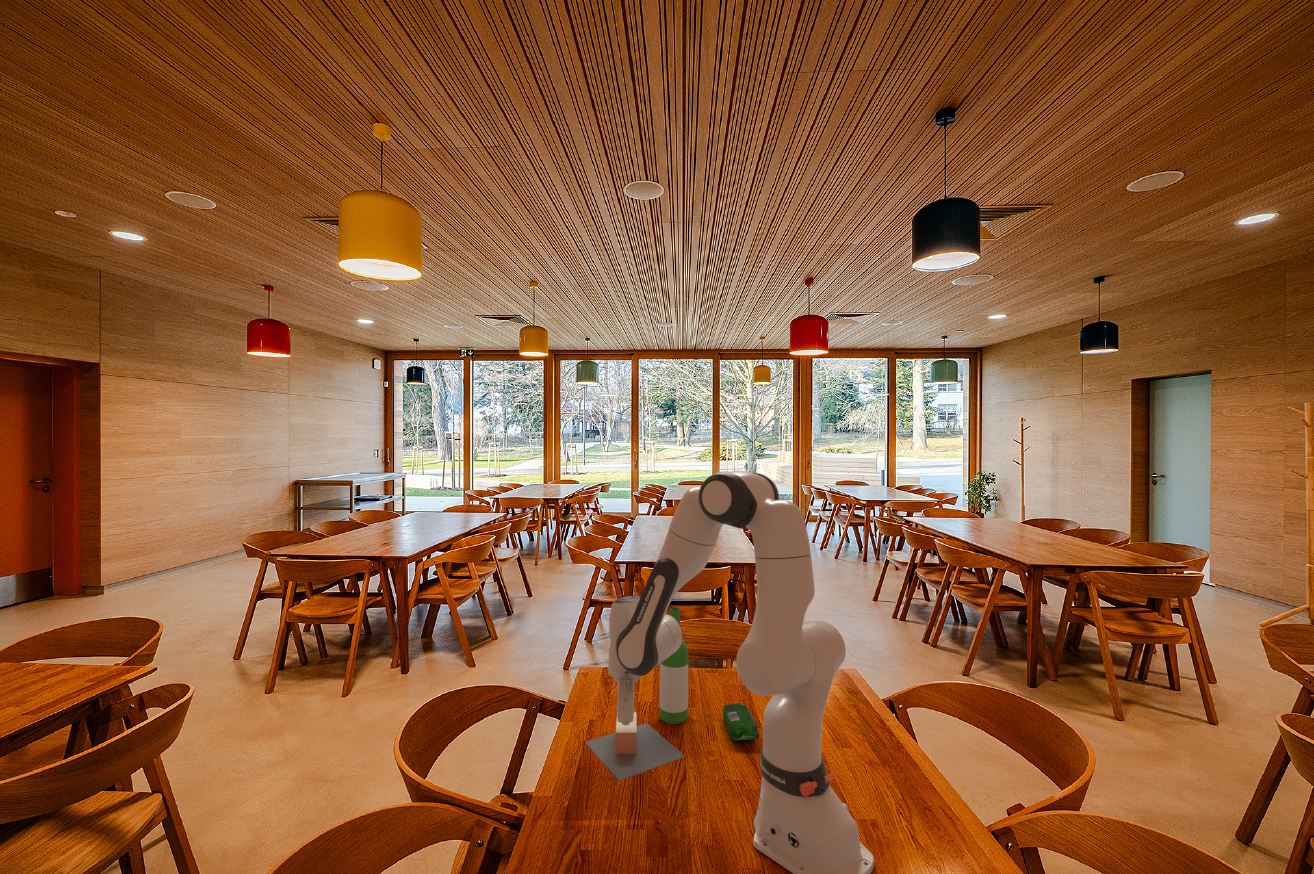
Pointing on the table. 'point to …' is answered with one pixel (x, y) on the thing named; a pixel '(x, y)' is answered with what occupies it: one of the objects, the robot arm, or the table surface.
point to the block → (626, 737)
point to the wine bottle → (674, 683)
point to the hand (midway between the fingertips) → (625, 722)
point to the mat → (648, 753)
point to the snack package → (740, 722)
